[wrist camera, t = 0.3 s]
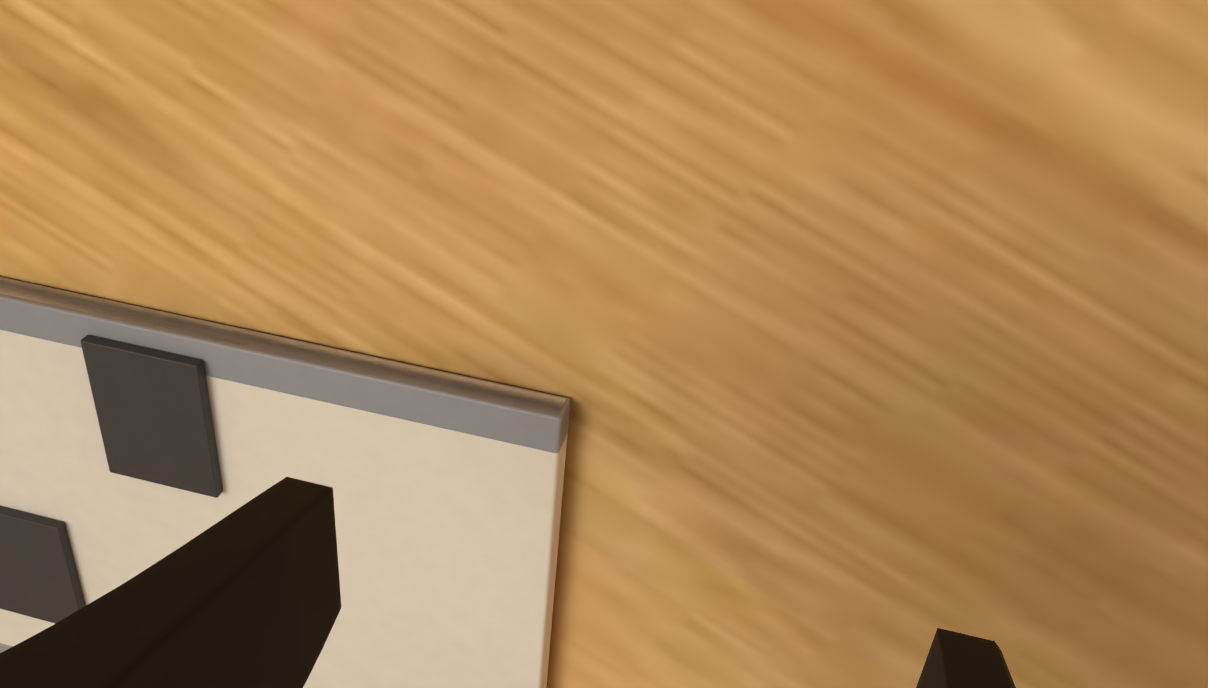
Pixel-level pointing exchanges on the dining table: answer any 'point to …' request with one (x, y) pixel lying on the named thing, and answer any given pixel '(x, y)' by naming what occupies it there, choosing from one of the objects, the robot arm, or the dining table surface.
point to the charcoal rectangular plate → (37, 567)
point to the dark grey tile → (154, 415)
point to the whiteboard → (314, 454)
